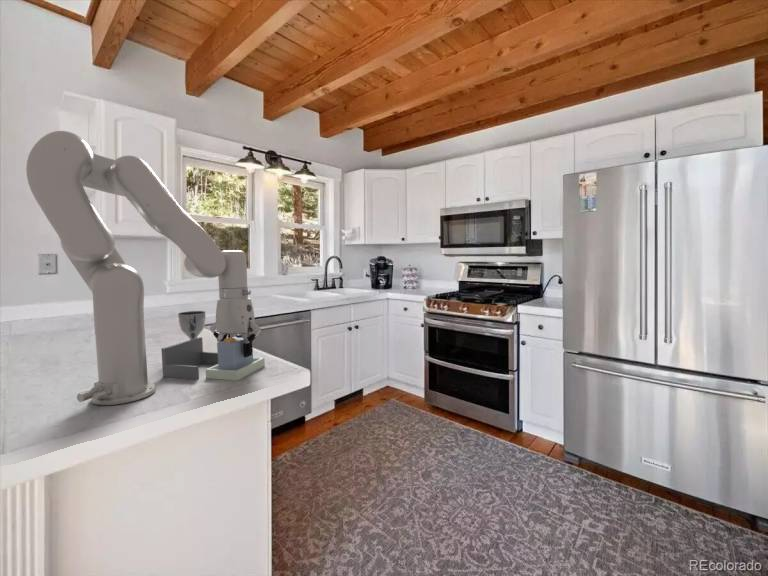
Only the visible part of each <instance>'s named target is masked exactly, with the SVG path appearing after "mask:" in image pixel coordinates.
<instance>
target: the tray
mask: <svg viewBox="0 0 768 576" xmlns="http://www.w3.org/2000/svg"><path fill="white" fill-rule="evenodd" d="M265 362H266V361H265V357H255V356H253V362H252V363H250V364H248V365H246V366H244V367H242V368H240V369H238V370H222V369H218V364H214V365H213V366H211V367H208V368H206V369H205V378H206V379H211V380H212V379H213V380H226V381H233V382H234V381H237V382H238V381H239V380H241V379H243V378H245V377H246V376H249V375H251V374H252V373H255V372H256V371H258V370H260V369H262V368H264V367H266V366H265V365H266V363H265Z"/></svg>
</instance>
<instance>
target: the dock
mask: <svg viewBox="0 0 768 576" xmlns="http://www.w3.org/2000/svg"><path fill="white" fill-rule="evenodd" d="M203 343H204V342H203V337H197V338H196V339H192V340H190V339H189V340H185V341H183V342H179V343H176V344H173V345H169V346H166V347H162V348H161V364H162V365H161V366H162V367H161V368H162V377H163V378H171V379H187V380H199V379H200V376H199V375H200V374H199V373H200V372H199V366H198V365H201V364H208V365H211V364H212V365H217V364H218V351H217V352H216V351H215V352H214V351H204V348H203V347H204V346H203Z"/></svg>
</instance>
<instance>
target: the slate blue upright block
mask: <svg viewBox="0 0 768 576" xmlns="http://www.w3.org/2000/svg"><path fill="white" fill-rule="evenodd" d="M244 343H245V341H244V339H243V337H242V335H241V334H235V336H233V337H227V339H224V341H221V342H218V341H217V343H216V344H217V345H216V347H217V349H216V351H217V352H218V369H222V370H238V369H240V368H242V367H244V366H246V365H248V364H250V363H252V362H253V357H254V347H253V346H254V345H253V344H254V343H253V342H252V350H253V351H252V355H251V356H249V357H244V355H243V344H244Z"/></svg>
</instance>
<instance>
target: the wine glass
mask: <svg viewBox="0 0 768 576" xmlns="http://www.w3.org/2000/svg"><path fill="white" fill-rule="evenodd" d="M177 316H178V317H177V318H178V323H179V327H180V331H182V333H183V334H185V336H187V337H188V339H189V340H192V339H196V338H199V337H198V336H199V335H200V334H201V333H202V332H203V330H204V328H205V325H206V311H204V310H192V311H184V312H183V311H182V312H178V313H177Z"/></svg>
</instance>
